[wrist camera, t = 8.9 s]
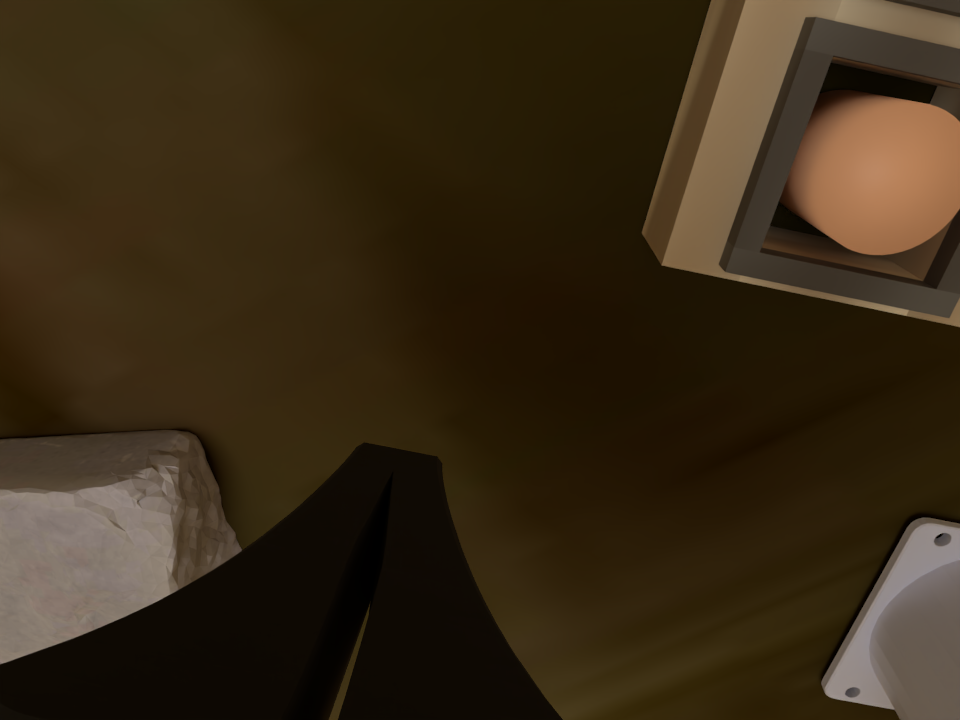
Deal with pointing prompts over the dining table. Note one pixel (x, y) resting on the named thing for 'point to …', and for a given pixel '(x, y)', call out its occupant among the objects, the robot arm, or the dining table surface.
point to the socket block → (776, 139)
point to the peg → (876, 171)
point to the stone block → (101, 530)
